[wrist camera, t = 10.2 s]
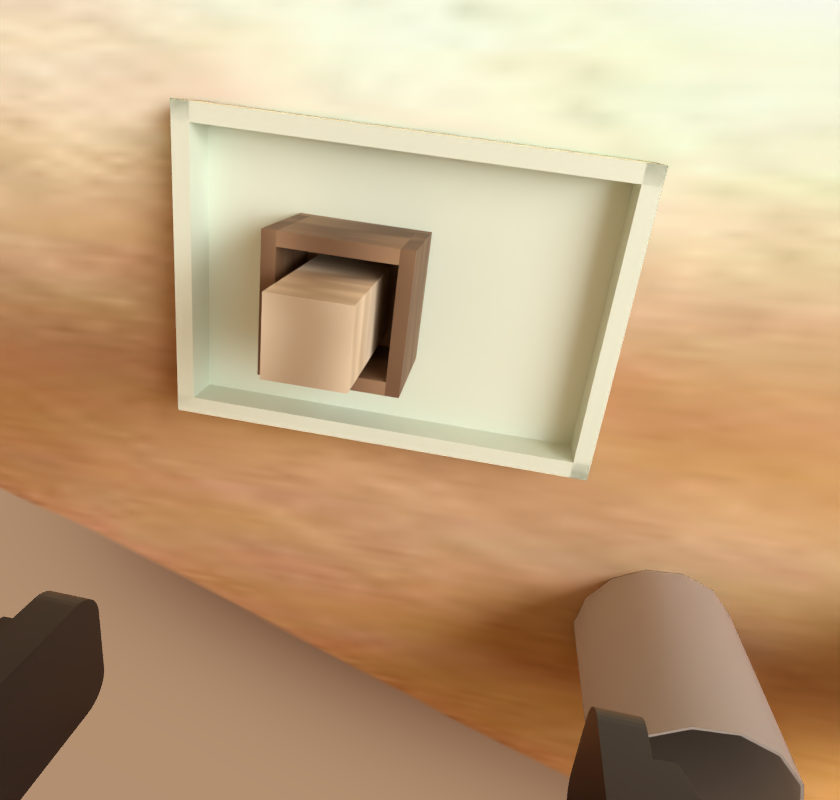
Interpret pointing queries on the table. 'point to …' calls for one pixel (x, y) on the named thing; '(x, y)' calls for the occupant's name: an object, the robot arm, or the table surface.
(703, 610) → the cup
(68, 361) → the table surface
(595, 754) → the robot arm
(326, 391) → the tray
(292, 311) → the peg
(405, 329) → the open drawer box
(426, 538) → the table surface
